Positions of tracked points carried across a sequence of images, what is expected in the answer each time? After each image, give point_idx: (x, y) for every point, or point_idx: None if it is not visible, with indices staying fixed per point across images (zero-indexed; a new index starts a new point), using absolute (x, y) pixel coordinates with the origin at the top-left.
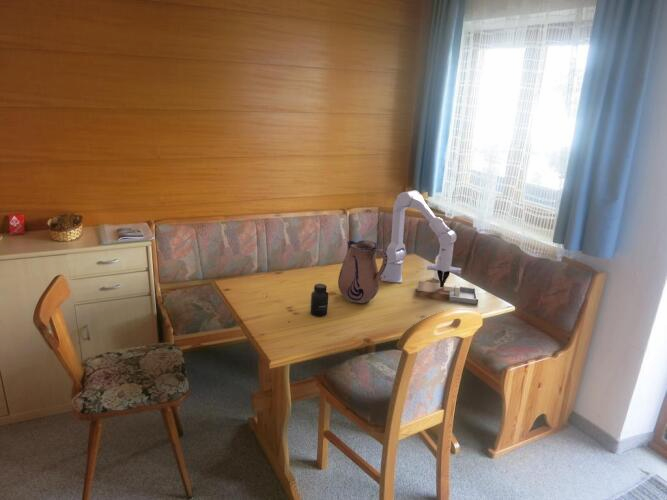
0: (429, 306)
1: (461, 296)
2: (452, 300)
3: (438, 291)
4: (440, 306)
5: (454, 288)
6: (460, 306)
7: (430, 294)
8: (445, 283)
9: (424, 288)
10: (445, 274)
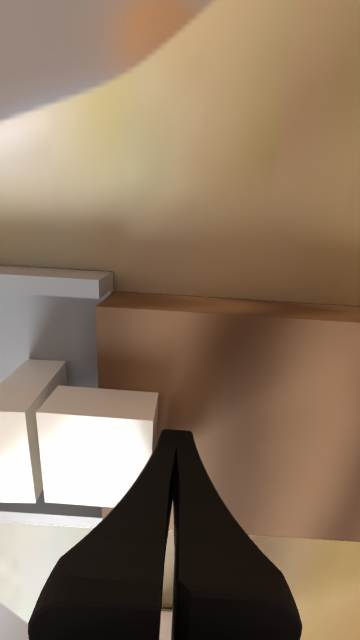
0: (309, 88)
1: None
2: (80, 271)
3: (211, 355)
4: (196, 124)
5: None
6: (10, 185)
7: (287, 311)
8: None
9: (347, 396)
10: (122, 588)
